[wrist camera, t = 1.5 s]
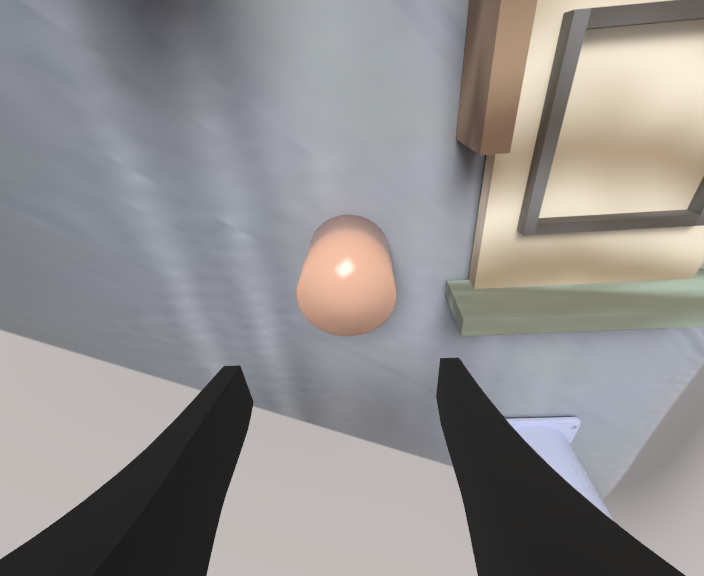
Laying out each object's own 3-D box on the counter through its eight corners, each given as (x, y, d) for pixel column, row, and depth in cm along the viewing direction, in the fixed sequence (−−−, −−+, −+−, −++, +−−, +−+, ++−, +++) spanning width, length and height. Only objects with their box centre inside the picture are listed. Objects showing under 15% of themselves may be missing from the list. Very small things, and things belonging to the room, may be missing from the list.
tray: (691, 283, 21) (756, 324, 17) (445, 295, 22) (461, 336, 18) (875, -32, 13) (1063, -72, 9) (474, 6, 14) (512, -17, 10)
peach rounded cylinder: (389, 284, 22) (396, 333, 18) (315, 288, 22) (304, 337, 18) (388, 212, 19) (396, 250, 15) (304, 217, 19) (288, 256, 15)
